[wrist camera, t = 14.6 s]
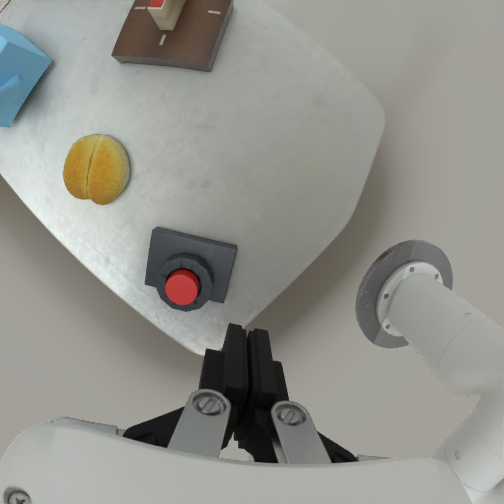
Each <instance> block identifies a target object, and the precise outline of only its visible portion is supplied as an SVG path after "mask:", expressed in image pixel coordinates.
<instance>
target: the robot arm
mask: <svg viewBox="0 0 504 504" xmlns="http://www.w3.org/2000/svg"><path fill="white" fill-rule="evenodd" d="M376 315H377V319H378V322H379V324H380V325H381V327H382V328H383V329H384V330H385V331H386V332H387V333H389V334H391V335H393V336H403V337H404V338H405V339H406V340H407V342H408V343H409V344H410V345H411V346H412V347H413V349H414V350H415V351H416V352H417V354H418V355H419V356H420V357H421V358H422V360H423V361H424V362H425V363H426V364H427V366H428V367H429V368H430V369H431V371H432V372H433V373H434V374H435V375H436V377H437V378H438V379H439V380H440V382H441V383H442V384H443V385H444V386H445V387H446V388H447V389H448V390H449V391H450V392H452V393H454V394H457V395H466V396H468V395H479V394H481V397H480V400H479V402H478V403H477V405H476V406H475V407H474V409H473V410H472V412H471V413H470V414H469V416H468V417H467V418H466V419H465V420H464V421H463V422H462V423H461V425H460V426H459V427H458V428H457V429H456V430H455V431H454V432H453V433H452V434H451V435H450V437H449V438H448V439H447V440H446V441H445V442H444V443H443V444H442V445H441V446H440V447H439V448H438V449H437V451H436V452H435V453H434V455H433V456H432V458H427V457H399V458H387V457H375V456H365V455H358V456H357V457H355V456H354V455H353V454H352V453H350V452H349V451H348V450H345V449H344V448H342V447H341V446H339V445H338V444H336V443H335V442H333V441H332V440H330V439H328V438H327V437H325V436H324V435H322V434H321V433H319V432H318V431H317V430H316V428H315V425H314V424H313V421H312V419H311V417H310V415H309V413H308V411H307V410H306V409H305V408H304V407H303V406H302V405H300V404H298V403H296V402H292V401H289V397H288V392H287V387H286V382H285V377H284V373H283V368H282V364H281V362H279V361H273V359H272V353H271V347H270V341H269V335H268V331H267V330H262V329H257V328H255V329H254V331H249V333H248V337H247V336H246V330H245V329H242V326H241V325H236V324H232V323H229V325H228V329H227V333H226V337H225V341H224V345H223V349H222V351H217V350H212V349H207V348H206V352H205V357H204V361H203V366H202V371H201V378H200V383H199V389H198V390H196V391H195V392H193V393H192V394H191V395H190V396H189V398H188V401H187V403H186V405H185V407H182V408H180V409H177V410H174V411H172V412H169V413H167V414H164V415H162V416H159V417H156V418H154V419H151V420H148V421H146V422H143V423H140V424H138V425H134V426H132V427H130V428H128V429H127V430H122V429H118V428H117V426H114V425H107V424H100V423H95V422H89V421H84V420H79V419H74V418H69V417H58V418H55V419H53V420H52V421H51V422H45V423H37V424H33V425H31V426H29V427H27V428H25V429H24V430H23V431H22V432H21V433H20V434H19V435H18V436H17V437H16V438H15V439H14V440H13V442H12V443H11V444H10V446H9V447H8V449H7V450H6V451H5V453H4V454H3V456H2V458H1V459H0V504H504V329H503V328H502V327H500V326H499V325H497V324H496V323H495V322H494V321H492V320H491V319H490V318H488V317H487V316H485V315H484V314H483V313H482V312H480V311H479V310H478V309H476V308H475V307H474V306H472V305H471V304H469V303H468V302H467V301H465V300H464V299H463V298H461V297H460V296H458V295H457V294H456V293H454V292H453V291H451V290H450V289H448V288H447V287H446V286H444V285H443V281H442V277H441V275H440V273H439V271H438V270H437V269H436V268H435V267H434V266H432V265H431V264H429V263H427V262H423V261H414V262H410V263H407V264H405V265H403V266H401V267H400V268H398V269H397V270H396V271H395V272H394V273H392V274H391V276H390V277H389V278H388V279H387V280H386V282H385V283H384V285H383V287H382V289H381V291H380V293H379V296H378V299H377V304H376ZM233 431H234V440H235V441H238V448H241V449H245V450H246V451H247V452H249V453H250V455H249V461H239V460H231V459H222V458H219V454H220V450H222V449H223V448H225V447H227V445H228V442H229V440H230V439H231V437H232V434H233Z"/></svg>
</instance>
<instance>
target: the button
mask: <svg viewBox="0 0 504 504" xmlns="http://www.w3.org/2000/svg"><path fill="white" fill-rule="evenodd" d="M198 290H199V281H198V278H197V277H196V275H195V274H193V273H192V272H190V271H188V270H177V271H175V272H174V273H172V275H171V276H170V278H169V279H168V281H167V283H166V286H165V291H166V294H167V296H168V298H169V299H170V300H171V301H172V302H174V303H176V304H179V305H187V304H190V303H191V302H193V301H194V300H195V298H196V296H197V293H198Z"/></svg>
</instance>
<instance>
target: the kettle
mask: <svg viewBox="0 0 504 504" xmlns="http://www.w3.org/2000/svg"><path fill="white" fill-rule="evenodd" d="M9 1H10V0H0V11H1V10H2V9H3V8H4V7H5V6H6V4H7V3H8V2H9Z"/></svg>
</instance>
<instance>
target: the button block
mask: <svg viewBox="0 0 504 504" xmlns="http://www.w3.org/2000/svg"><path fill="white" fill-rule="evenodd" d="M236 251H237V246H236V245H232V244H227V243H223V242H219V241H215V240H210V239H206V238H202V237H197V236H193V235H189V234H184V233H180V232H176V231H171V230H167V229H163V228H158V227H156V228H154V229H153V230H152V235H151V242H150V248H149V255H148V262H147V270H146V278H145V285H149V286H153V287H156V288H157V291H158V293H159V295H160V298H161V299H162V300H163V301H164V302H165V303H166V304H168V305H169V306H170V307H171V308H173V309H177V310H181V311H185V312H187V311H191V310H195V309H199V308H201V307H202V306H203V305H204V304H205V303H206V302H207V301H208V300H210V301H215V302H219V303H224V300H225V296H226V292H227V287H228V283H229V279H230V275H231V271H232V267H233V263H234V259H235V255H236ZM177 270H188V271H190V272H192V273H193V274H195V275H196V277H197V278H198V281H199V290H198V293H197V296H196V298H195V300H194V301H193V302H191V303H190V304H187V305H179V304H176V303H174V302H172V301H171V300H170V299H169V298H168V296H167V294H166V291H165V286H166V283H167V281H168V279H169V278H170V276H171V275H172V273H174V272H175V271H177Z"/></svg>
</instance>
